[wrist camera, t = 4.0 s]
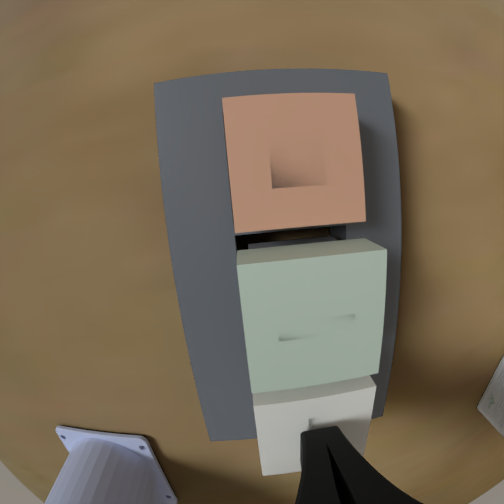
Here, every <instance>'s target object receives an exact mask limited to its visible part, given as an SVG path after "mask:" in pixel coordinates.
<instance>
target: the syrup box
mask: <svg viewBox="0 0 504 504" xmlns="http://www.w3.org/2000/svg"><path fill="white" fill-rule="evenodd" d="M477 409H478V410H479V411H480V412H481V413H482V414H483V415H484V416H485V418H486V419H487V420H488V421H489V422H490V423H491V424H492V425H493V426H494V427H495V428H496V430H497V431H498V432H499V433H500V434H501V435H502V436H503V437H504V356H503V357H502V359H501V361H500V363H499V365H498V367H497V369H496V371H495V373H494V375H493V377H492V379H491V381H490V383H489V385H488V387H487V389H486V390H485V392H484V394H483V396H482V398H481V400H480V402H479V404H478V406H477Z"/></svg>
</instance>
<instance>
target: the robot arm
mask: <svg viewBox="0 0 504 504" xmlns="http://www.w3.org/2000/svg"><path fill="white" fill-rule="evenodd" d="M56 432H57V434H58V436H59V437H60V439H61V441H62V442H63V444H64V445H65V447H66V449H67V450H68V452H69V453H70V454H69V455H68V457H67V459H66V461H65V463H64V465H63V467H62V469H61V471H60V473H59V475H58V477H57V479H56V481H55V483H54V485H53V487H52V489H51V491H50V493H49V495H48V497H47V500H46V502H45V504H177V503H178V499H177V498H176V496H175V494H174V492H173V490H172V488H171V487H170V485H169V483H168V481H167V479H166V477H165V475H164V473H163V471H162V469H161V467H160V465H159V463H158V461H157V459H156V457H155V455H154V452H153V450H152V448H151V446H150V444H149V442H148V440H147V439H146V438H145V437H143V436H140V435H126V434H116V433H106V432H98V431H90V430H83V429H77V428H71V427H65V426H57V427H56ZM300 463H301V479H300V484H299V489H298V494H297V499H296V502H295V504H423V503H421V502H419V501H417V500H415V499H414V498H412V497H410V496H409V495H407V494H406V493H404V492H403V491H401V490H400V489H399V488H397V487H396V486H394V485H393V484H392V483H391V482H389V481H388V480H387V479H386V478H384V477H383V476H382V475H381V474H380V473H379V472H378V471H377V470H376V469H374V468H373V467H372V466H371V465H370V464H369V463H368V462H367V461H366V460H365V459H364V458H363V456H362V455H361V454H360V453H359V452H358V451H357V450H356V449H355V448H354V446H353V445H352V444H351V443H350V442H349V440H348V439H347V438H346V437H345V435H344V434H343V433H342V431H341V430H340V428H339V427H338V426H331V427H325V428H320V429H314V430H308V431H303V432H302V433H301V434H300Z"/></svg>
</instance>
